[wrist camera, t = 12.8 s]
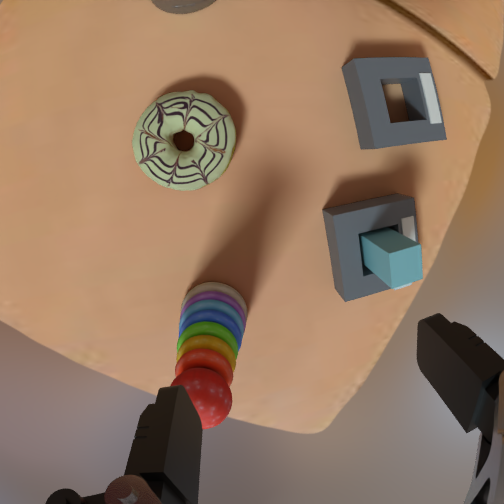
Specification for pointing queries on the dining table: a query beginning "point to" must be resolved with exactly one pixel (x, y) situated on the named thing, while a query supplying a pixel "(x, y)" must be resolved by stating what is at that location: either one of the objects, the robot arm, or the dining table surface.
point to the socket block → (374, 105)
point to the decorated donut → (195, 122)
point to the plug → (391, 257)
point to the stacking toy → (210, 348)
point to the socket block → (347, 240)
